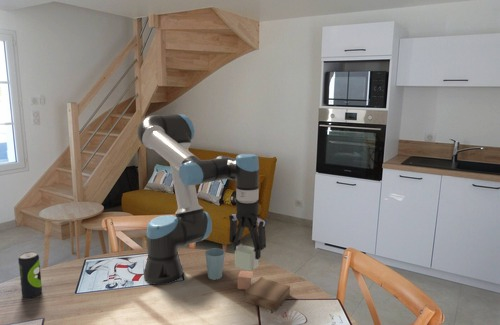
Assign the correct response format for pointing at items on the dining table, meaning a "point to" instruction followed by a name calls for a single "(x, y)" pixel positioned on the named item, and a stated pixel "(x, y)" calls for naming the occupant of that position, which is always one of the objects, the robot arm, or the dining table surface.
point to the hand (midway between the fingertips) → (247, 264)
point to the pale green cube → (244, 258)
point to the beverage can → (30, 274)
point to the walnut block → (267, 294)
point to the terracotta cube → (245, 279)
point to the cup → (215, 262)
